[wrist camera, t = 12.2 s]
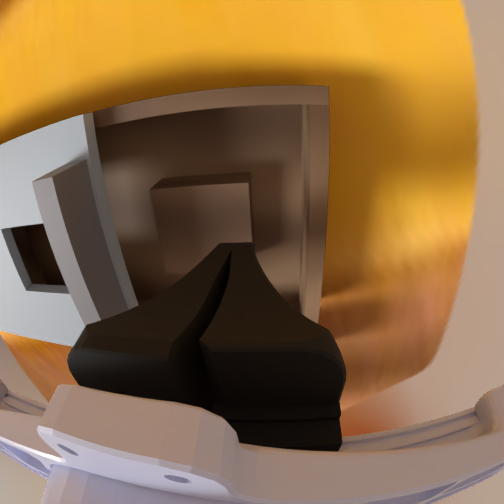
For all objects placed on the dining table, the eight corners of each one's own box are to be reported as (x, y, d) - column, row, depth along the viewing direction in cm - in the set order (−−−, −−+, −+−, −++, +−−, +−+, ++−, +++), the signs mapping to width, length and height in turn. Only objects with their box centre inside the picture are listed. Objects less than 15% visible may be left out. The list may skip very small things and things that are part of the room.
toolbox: (308, 301, 21) (315, 346, 17) (53, 296, 22) (29, 327, 19) (312, 88, 14) (328, 85, 10) (5, 145, 15) (-34, 162, 12)
